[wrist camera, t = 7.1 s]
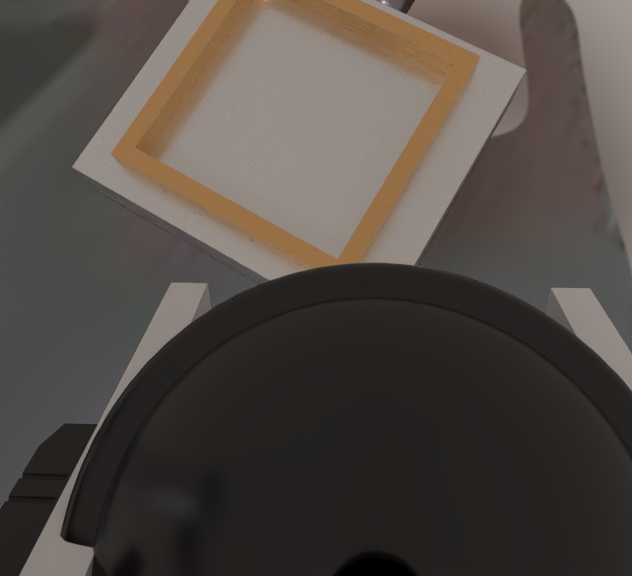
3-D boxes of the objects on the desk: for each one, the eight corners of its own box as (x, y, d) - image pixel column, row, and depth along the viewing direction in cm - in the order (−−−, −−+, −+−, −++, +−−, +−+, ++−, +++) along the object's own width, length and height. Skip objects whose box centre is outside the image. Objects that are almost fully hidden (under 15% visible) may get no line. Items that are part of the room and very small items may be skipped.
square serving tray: (100, 193, 38) (59, 155, 33) (269, -51, 41) (257, -121, 36) (369, 348, 35) (372, 334, 29) (529, 69, 38) (558, 12, 33)
